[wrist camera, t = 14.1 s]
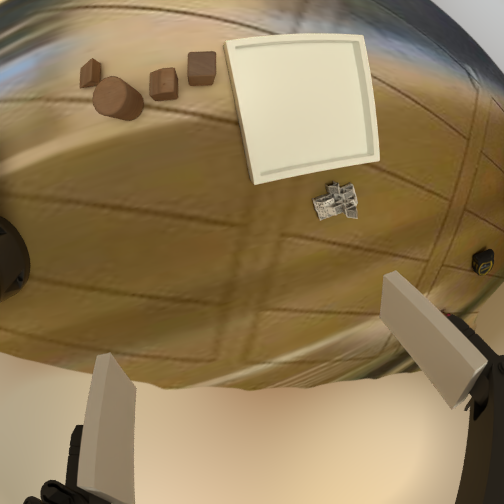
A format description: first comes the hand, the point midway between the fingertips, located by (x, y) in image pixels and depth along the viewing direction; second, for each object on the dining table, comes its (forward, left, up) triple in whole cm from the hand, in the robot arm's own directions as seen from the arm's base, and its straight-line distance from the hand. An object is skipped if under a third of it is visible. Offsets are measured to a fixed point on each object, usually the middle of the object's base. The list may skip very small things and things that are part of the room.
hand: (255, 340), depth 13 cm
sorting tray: (+16, +9, -31) cm, 36 cm away
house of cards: (+19, -5, -32) cm, 37 cm away
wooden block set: (-5, +15, -32) cm, 35 cm away
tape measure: (+65, -29, -31) cm, 77 cm away
